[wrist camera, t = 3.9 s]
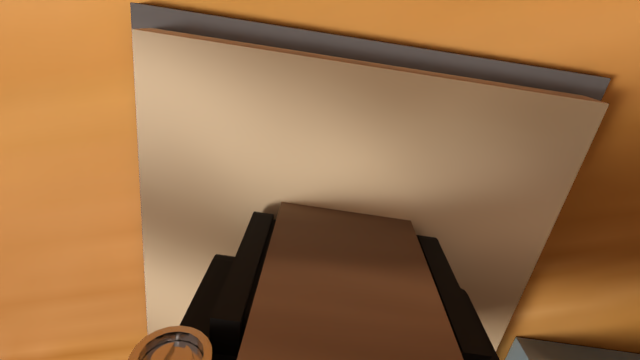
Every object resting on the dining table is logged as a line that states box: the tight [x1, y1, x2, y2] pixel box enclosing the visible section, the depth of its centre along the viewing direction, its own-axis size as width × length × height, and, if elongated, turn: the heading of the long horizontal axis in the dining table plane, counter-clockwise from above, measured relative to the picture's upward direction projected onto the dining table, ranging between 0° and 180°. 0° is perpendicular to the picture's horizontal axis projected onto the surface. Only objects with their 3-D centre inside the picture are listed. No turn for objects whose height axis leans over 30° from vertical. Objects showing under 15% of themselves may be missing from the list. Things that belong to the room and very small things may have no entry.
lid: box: [132, 28, 609, 360], centre depth 9 cm, size 11×11×6 cm
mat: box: [130, 3, 610, 331], centre depth 12 cm, size 12×12×1 cm
